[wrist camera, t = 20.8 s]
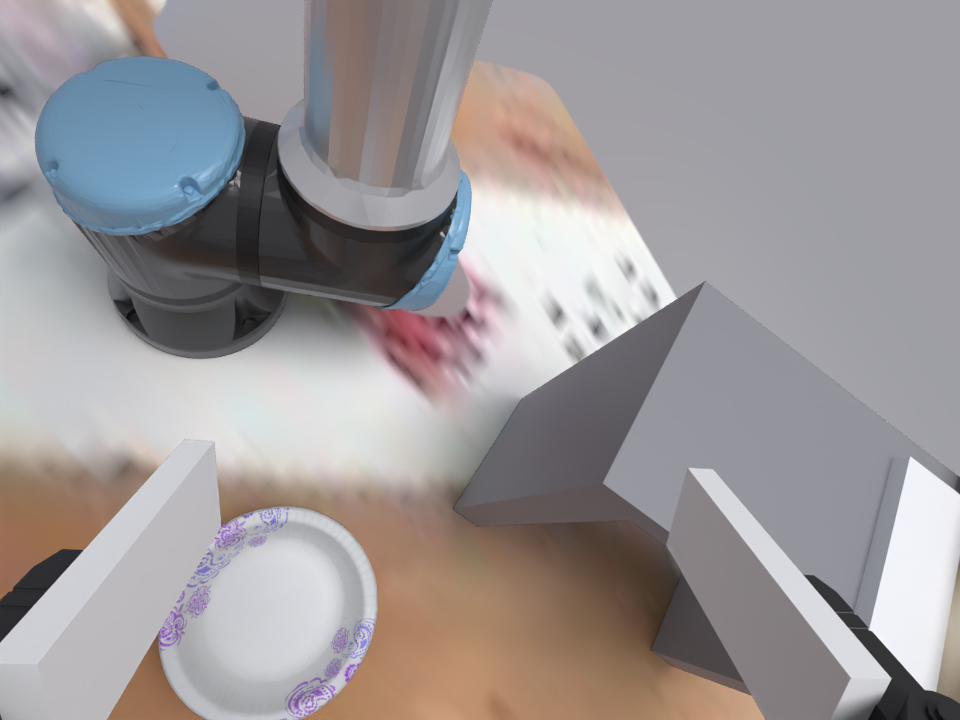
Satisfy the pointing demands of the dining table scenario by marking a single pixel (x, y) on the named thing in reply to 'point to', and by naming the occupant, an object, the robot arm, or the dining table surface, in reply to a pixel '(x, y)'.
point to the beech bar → (952, 649)
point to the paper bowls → (271, 618)
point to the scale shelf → (736, 473)
